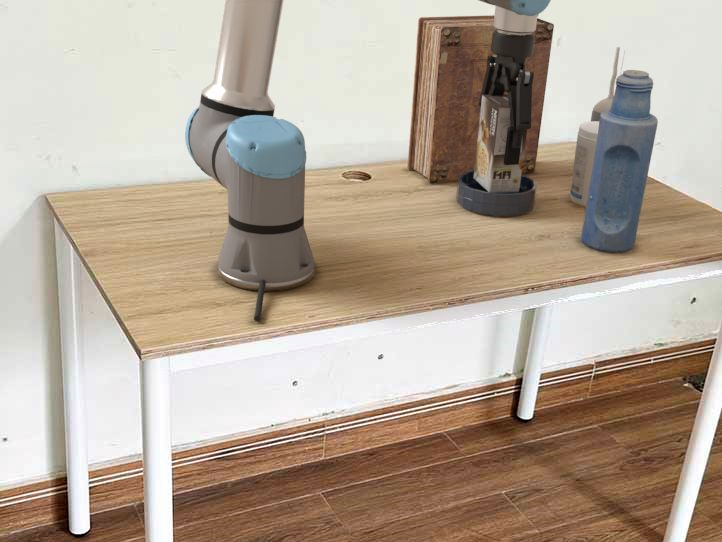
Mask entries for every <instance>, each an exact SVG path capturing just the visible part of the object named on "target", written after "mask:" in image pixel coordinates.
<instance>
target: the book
mask: <svg viewBox="0 0 722 542" xmlns="http://www.w3.org/2000/svg"><path fill="white" fill-rule="evenodd" d="M494 15H495V14H494ZM494 15H493V14H492V15H458V16H457V15H456V16H454V15H453V16H423V17H422V16H421V17H419V18H418V23H417V34H416V35H417V36H416V47H415V48H416V49H415V50H416V51H415V60H414V61H415V63H414V75H413V90H412V103H411V115H410V130H409V141H408V142H409V143H408V154H407V155H408V157H407V170H408V171H416V172H417V173H419V174H421V176H423V177H424V178H426V179H427V182H428V183H429V184H431V185H432V184H440V183H451V182H458V177H459V176H460V175H461V174H462V173H464V172H467V171H471V170H474V169H475V159H476V151H477V141H478V131H479V121H480V112H481V107H480V106H479V100H480V95H481V91H482V87H483V82H484V78H485V73H486V69H487V57H488V56H489V55H496V54H494V53H493V52H492V51H491V43H492V34H493V32H494V31H495V30H496V28H494V27H493V24H494ZM554 27H555V24H554V23H552V22H549V21H547V20H543V19H542V18H539V17H537V23H536V30H535V31H534V32H532V33H533V34H534V36H535V41H534V48H533V54H532V55H531V56H530V57H527V58H526V59H525V68H526V69H525V70H526V71H528V72H530V71H532V72H534V78H533V83H532V113H531V129H527V136H526V143H525V151H524V159H523V165H522V173H521V174H522V175H524V174H531V173H533V174H534V173H535V171H536V166H537V165H536V164H537V157H538V150H539V142H540V133H541V126H542V119H543V111H544V104H545V96H546V89H547V81H548V75H549V73H548V72H549V64H550V58H551V52H552V43H553V36H554ZM504 94H508V93H507V92H506V91H505V92H504Z"/></svg>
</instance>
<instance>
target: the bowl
mask: <svg viewBox="0 0 722 542" xmlns="http://www.w3.org/2000/svg"><path fill="white" fill-rule="evenodd" d="M537 187H538V184H537V183H536V180H534V179H533V178H531V177H530V176H527V175H524V174H521V181H520V188H519V192H505V193H490V192H488V191H487V190H486V189H485V188H484V187H483V186H482V185H481V184H479V183H478V182H477V181H476V180H475V179H474V170H471V171H467V172H464V173H462V174H461V175H460V176H459V177H458V181H457V185H456V197H455V199H456V202H457V204H458V205H459V206H461V207H462V208H463V209H466V210H468V211H470V212H473V213H476V214H478V215H482V216H483V215H484V216H490V217H499V218H500V217H515V216H520V215H524V214H527V213H529V212H531V211H532V210H533V209H534V207H535V202H536V195H537V189H538V188H537Z"/></svg>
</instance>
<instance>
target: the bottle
mask: <svg viewBox="0 0 722 542" xmlns="http://www.w3.org/2000/svg"><path fill="white" fill-rule="evenodd" d="M653 86H654V79H653V78H652V77H650V74H649V72H648V71H644V70H637V69H626V70H623V72H622V73H621V74H620V75H617V76H616V79H615V88H614V98H613V101H612V106H611V109H608V110H604V111H603V112H602V113H601V115H600V121H599V128H598V136H597V143H596V148H595V155H594V161H593V167H592V173H591V180H590V186H589V192H588V198H587V204H586V207H585V211H584V217H583V224H582V230H581V236H580V240H581V242H582V244H584V245H585V246H586V247H589V248H591V249H593V250H595V251H599V252H603V253H611V254H612V253H613V254H615V253H625V252H628V251H631V250H633V248H634V247H635V245H636V239H637V233H638V228H639V224H640V223H639V222H640V216H641V212H642V206H643V201H644V196H645V190H646V186H647V181H648V176H649V171H650V165H651V160H652V156H653V155H652V154H653V150H654V149H653V148H654V145H655V139H656V134H657V129H658V123H659V119H658V118H657V116H655V115H654V114H652V113H651V104H652V103H651V102H652V101H651V99H652V97H651V95H652V91H653V88H654V87H653Z"/></svg>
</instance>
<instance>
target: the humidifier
mask: <svg viewBox="0 0 722 542" xmlns="http://www.w3.org/2000/svg"><path fill="white" fill-rule="evenodd" d="M620 49H621V47H620V46H616V48H615V54H614V60H613V67H612V75H611V78H610V81H609V92H608V95H607V97H606V98H603V99H601V100H599V101H598V102H597V103H596V104H595V105H594V106H593V108H592V111H591V117H590V122H591V121H600V115H601V113H602V112H603V111H604V110H608V109H611V106H612V101H613V98H614V94H615V85H616V79H617V77H618V64H619V58H620ZM625 53H626V50H624V51H623V54H625ZM624 59H625V55H623V58H622V60H624ZM623 66H624V61H622V63H621V67H620V70H622V68H623Z"/></svg>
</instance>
